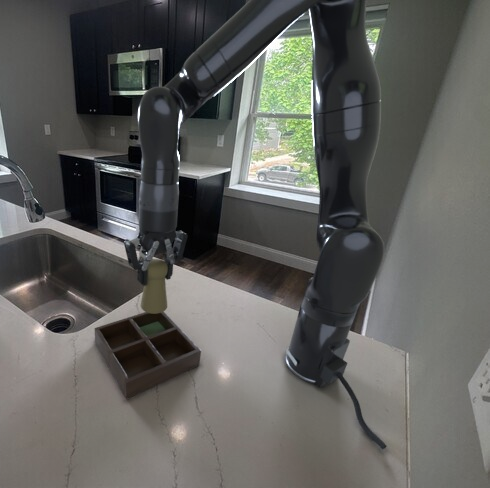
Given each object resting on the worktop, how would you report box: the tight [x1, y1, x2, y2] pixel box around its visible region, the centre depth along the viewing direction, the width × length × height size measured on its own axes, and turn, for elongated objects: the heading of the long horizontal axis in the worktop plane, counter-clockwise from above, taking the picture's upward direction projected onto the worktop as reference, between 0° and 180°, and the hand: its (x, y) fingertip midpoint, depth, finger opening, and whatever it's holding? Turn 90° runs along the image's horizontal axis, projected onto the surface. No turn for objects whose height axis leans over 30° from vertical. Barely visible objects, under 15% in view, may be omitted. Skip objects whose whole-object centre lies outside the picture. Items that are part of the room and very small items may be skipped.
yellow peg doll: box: [140, 258, 168, 314], centre depth 64 cm, size 6×6×11 cm
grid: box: [94, 311, 202, 400], centre depth 64 cm, size 17×17×4 cm
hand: (155, 280), depth 64 cm, fingers closed on yellow peg doll, 5 cm apart
